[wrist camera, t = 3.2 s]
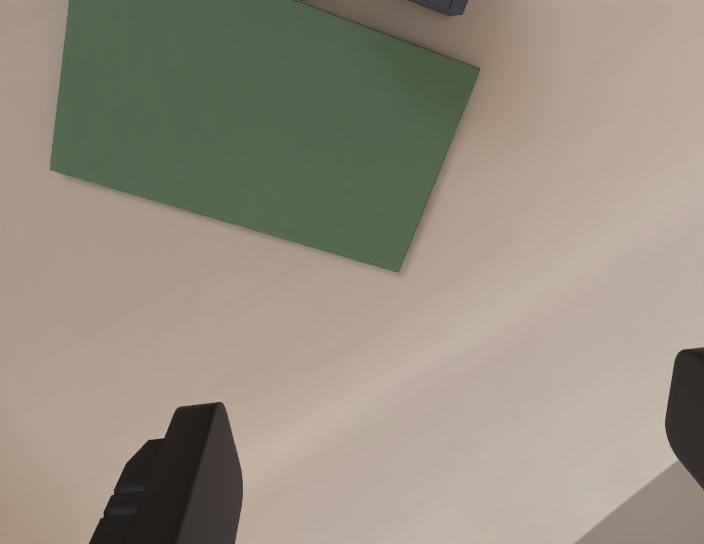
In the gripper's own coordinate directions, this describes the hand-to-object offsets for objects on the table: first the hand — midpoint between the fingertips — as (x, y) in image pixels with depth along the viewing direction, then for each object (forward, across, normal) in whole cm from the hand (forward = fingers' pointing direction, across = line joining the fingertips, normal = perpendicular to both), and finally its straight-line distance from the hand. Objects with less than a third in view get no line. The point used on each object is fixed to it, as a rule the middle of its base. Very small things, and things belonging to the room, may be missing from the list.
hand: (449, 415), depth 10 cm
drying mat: (+22, +5, -3) cm, 23 cm away
